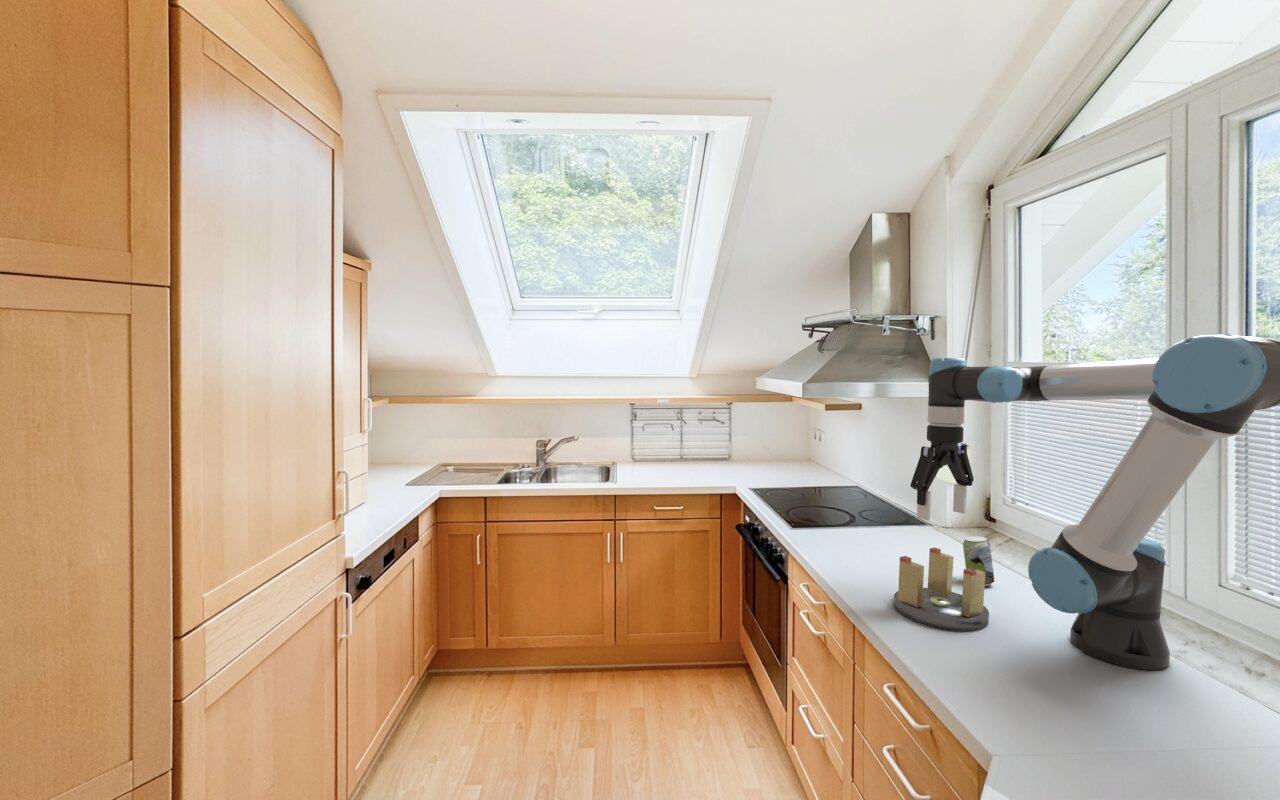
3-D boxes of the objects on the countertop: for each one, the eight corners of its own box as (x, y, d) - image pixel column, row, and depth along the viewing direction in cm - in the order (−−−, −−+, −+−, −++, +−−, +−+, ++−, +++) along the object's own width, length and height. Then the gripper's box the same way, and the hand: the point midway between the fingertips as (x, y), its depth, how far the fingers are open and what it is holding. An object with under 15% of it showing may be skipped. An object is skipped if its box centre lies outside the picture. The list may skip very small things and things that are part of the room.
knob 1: (922, 605, 130) (924, 562, 130) (916, 607, 129) (919, 563, 129) (903, 598, 134) (905, 555, 134) (897, 599, 134) (899, 557, 133)
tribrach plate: (1007, 620, 129) (1007, 607, 129) (953, 639, 120) (954, 625, 119) (927, 590, 145) (928, 578, 145) (875, 604, 136) (876, 592, 136)
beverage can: (998, 589, 147) (1000, 542, 146) (965, 587, 148) (968, 540, 147) (988, 580, 153) (991, 535, 152) (957, 578, 154) (960, 533, 153)
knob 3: (974, 610, 129) (977, 565, 128) (982, 613, 127) (985, 568, 126) (961, 614, 126) (963, 569, 126) (969, 617, 125) (971, 572, 124)
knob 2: (951, 594, 137) (953, 553, 136) (946, 596, 136) (948, 554, 135) (932, 587, 141) (934, 547, 141) (927, 588, 140) (929, 548, 140)
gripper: (961, 421, 146) (958, 506, 147) (895, 425, 134) (892, 518, 135) (992, 424, 139) (988, 513, 140) (926, 428, 127) (922, 525, 128)
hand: (941, 515), depth 138 cm, fingers open, 13 cm apart
